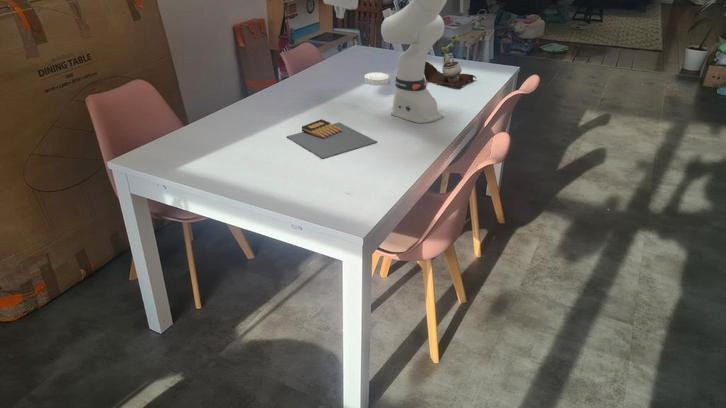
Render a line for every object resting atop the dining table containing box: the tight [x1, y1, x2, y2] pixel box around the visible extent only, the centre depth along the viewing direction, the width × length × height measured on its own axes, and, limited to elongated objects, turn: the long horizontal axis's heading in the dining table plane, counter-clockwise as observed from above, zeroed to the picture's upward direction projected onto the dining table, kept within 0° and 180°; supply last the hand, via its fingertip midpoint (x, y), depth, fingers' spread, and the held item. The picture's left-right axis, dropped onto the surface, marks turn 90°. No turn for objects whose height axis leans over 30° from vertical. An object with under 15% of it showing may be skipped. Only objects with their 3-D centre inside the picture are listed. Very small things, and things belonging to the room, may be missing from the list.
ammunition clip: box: [301, 118, 342, 138], centre depth 200 cm, size 11×2×12 cm
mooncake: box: [364, 71, 390, 86], centre depth 257 cm, size 12×12×4 cm
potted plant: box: [424, 34, 477, 89], centre depth 255 cm, size 20×19×25 cm
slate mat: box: [286, 121, 378, 160], centre depth 194 cm, size 24×24×1 cm
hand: (340, 17), depth 221 cm, fingers closed
